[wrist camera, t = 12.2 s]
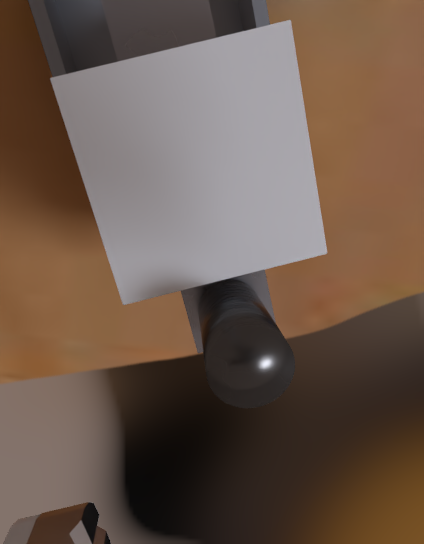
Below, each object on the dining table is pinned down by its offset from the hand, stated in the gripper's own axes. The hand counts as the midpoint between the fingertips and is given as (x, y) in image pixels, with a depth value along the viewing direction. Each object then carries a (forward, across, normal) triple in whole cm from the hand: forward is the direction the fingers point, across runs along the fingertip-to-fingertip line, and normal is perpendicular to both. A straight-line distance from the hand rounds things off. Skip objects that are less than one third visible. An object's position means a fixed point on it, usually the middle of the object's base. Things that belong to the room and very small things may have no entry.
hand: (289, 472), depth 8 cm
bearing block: (+22, 0, -6) cm, 23 cm away
